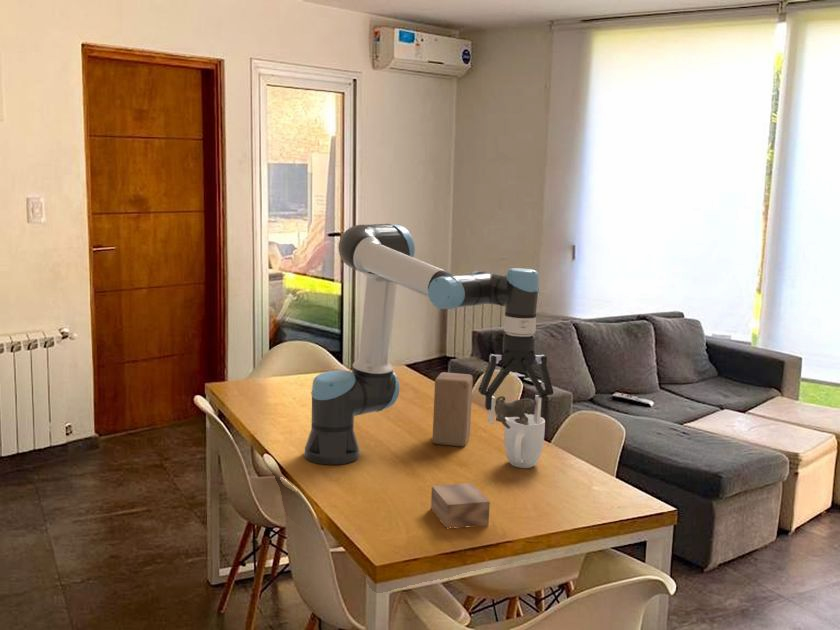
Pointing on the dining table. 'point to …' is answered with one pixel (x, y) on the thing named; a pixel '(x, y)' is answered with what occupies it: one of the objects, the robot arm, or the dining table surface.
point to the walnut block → (460, 505)
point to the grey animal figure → (514, 410)
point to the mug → (524, 441)
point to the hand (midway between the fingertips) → (514, 422)
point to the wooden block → (452, 409)
